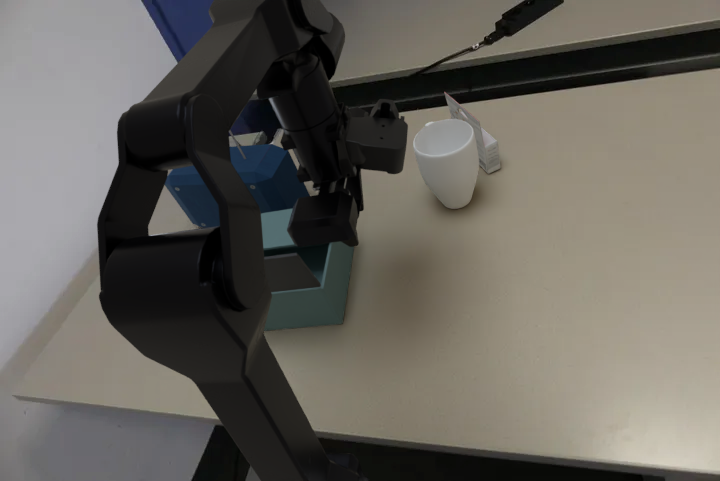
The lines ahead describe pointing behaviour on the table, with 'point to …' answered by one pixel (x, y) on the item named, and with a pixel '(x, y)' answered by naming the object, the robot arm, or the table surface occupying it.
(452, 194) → the mug
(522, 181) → the table surface
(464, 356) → the table surface
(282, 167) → the radio
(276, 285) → the hatch
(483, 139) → the ink cartridge box
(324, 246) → the teal storage bin
